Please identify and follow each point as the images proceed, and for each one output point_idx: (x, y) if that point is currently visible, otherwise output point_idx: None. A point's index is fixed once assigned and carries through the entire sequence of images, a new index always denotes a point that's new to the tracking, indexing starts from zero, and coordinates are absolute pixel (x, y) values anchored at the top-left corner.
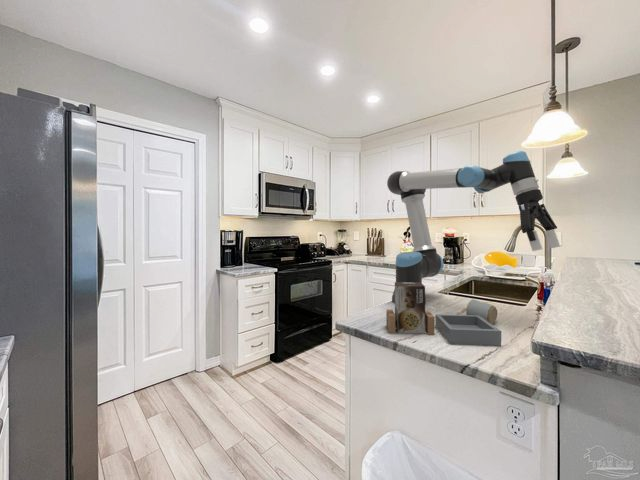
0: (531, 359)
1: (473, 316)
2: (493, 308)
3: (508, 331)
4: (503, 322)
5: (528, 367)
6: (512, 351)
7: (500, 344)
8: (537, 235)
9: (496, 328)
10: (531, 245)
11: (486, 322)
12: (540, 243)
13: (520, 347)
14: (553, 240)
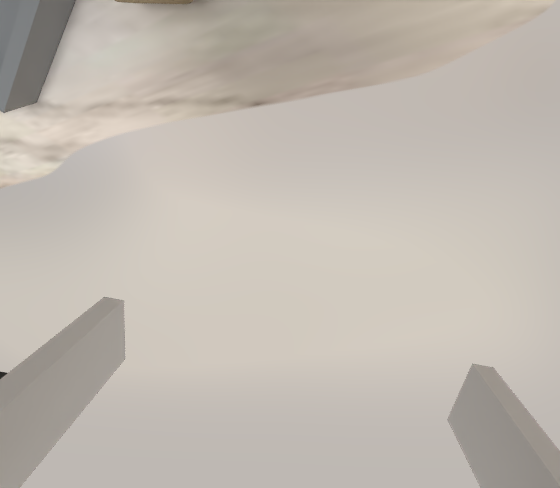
0: (46, 170)
1: None
2: (133, 2)
3: (157, 72)
4: (236, 17)
5: (10, 175)
6: (39, 132)
7: (32, 102)
8: (9, 482)
9: (4, 94)
10: (66, 333)
11: (15, 43)
12: (87, 397)
13: (79, 137)
14: (494, 466)
